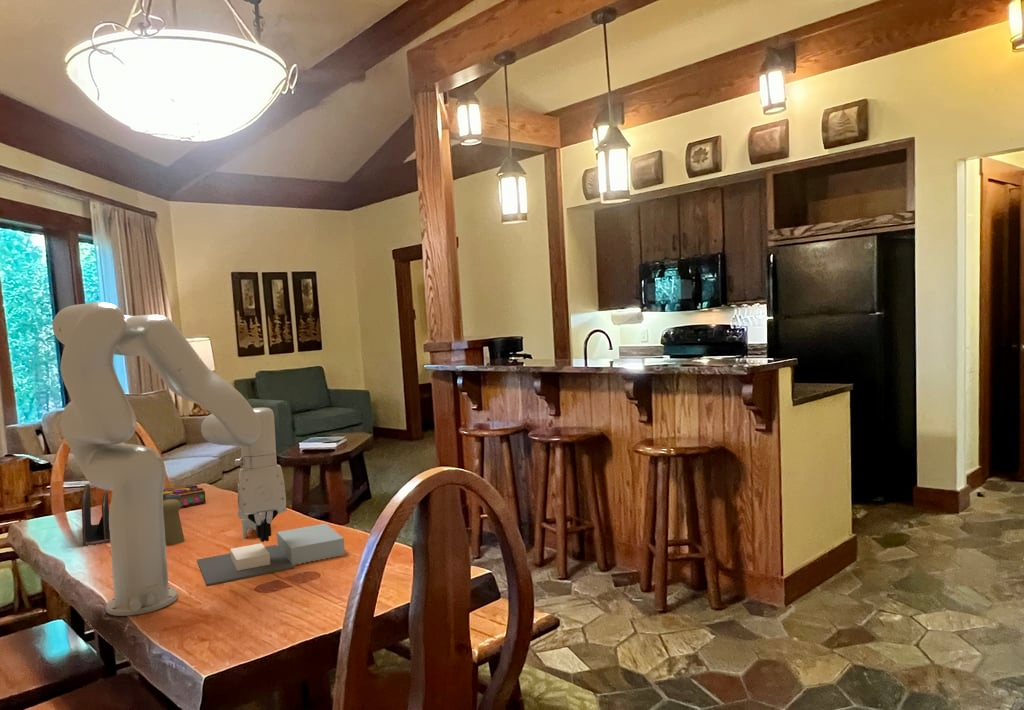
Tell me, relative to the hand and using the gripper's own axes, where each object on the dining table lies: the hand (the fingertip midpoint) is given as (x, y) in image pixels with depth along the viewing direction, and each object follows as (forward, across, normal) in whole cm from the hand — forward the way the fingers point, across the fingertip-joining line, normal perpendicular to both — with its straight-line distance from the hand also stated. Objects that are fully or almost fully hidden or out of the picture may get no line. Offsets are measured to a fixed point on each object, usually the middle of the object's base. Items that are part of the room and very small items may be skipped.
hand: (264, 540), depth 163 cm
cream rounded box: (+2, -3, 0) cm, 4 cm away
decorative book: (+5, -12, +79) cm, 80 cm away
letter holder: (+5, -32, +52) cm, 62 cm away
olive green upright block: (+5, -18, +32) cm, 37 cm away
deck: (+5, +10, 0) cm, 11 cm away
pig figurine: (+5, +2, +27) cm, 28 cm away
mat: (+5, -5, 0) cm, 7 cm away
